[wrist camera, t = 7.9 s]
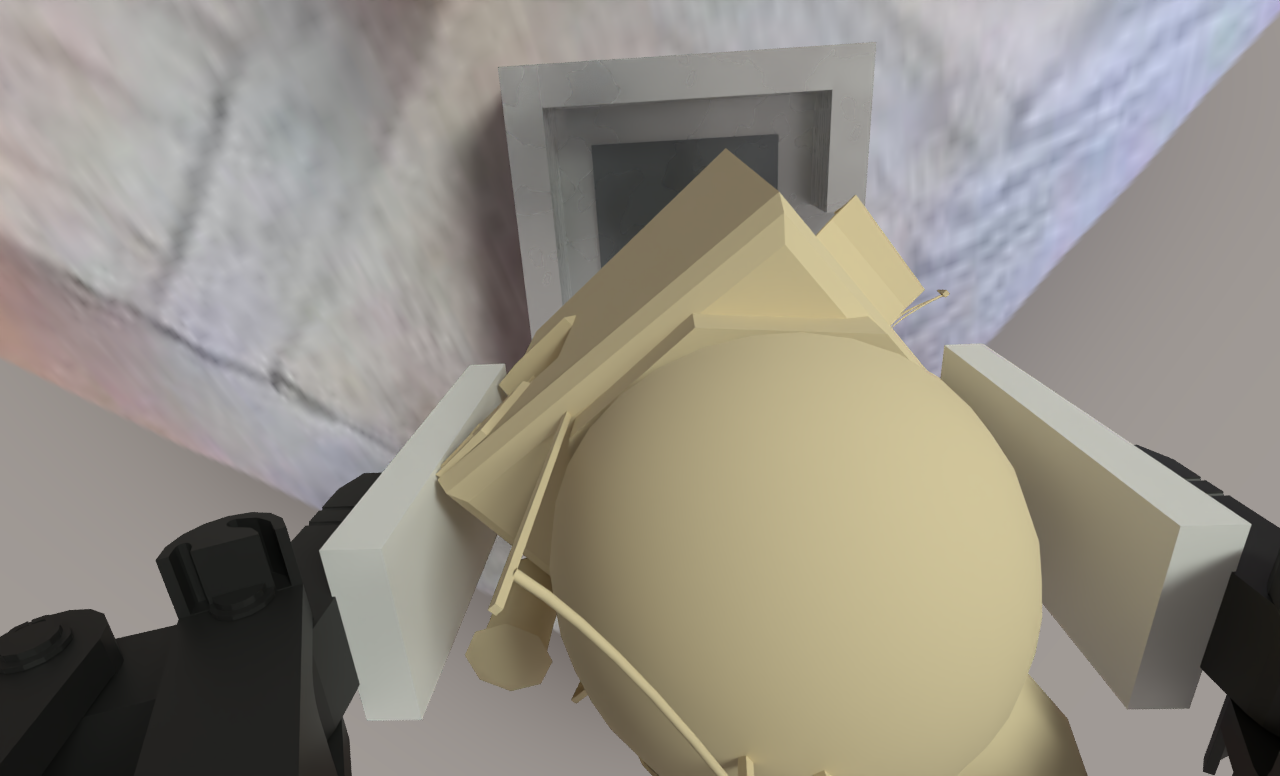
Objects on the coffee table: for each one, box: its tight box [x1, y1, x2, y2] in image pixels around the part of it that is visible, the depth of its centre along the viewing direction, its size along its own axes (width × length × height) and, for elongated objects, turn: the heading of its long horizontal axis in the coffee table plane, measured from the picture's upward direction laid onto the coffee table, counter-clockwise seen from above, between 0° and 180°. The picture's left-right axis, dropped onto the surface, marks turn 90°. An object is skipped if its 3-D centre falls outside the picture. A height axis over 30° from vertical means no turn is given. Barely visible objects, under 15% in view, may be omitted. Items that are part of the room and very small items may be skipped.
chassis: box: [498, 42, 876, 339], centre depth 29 cm, size 14×16×4 cm
